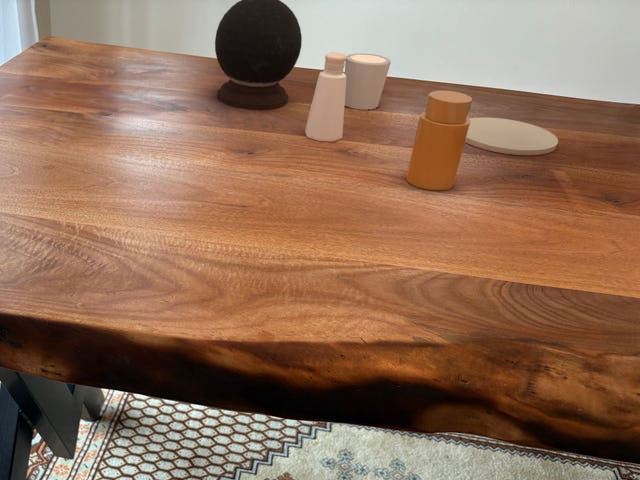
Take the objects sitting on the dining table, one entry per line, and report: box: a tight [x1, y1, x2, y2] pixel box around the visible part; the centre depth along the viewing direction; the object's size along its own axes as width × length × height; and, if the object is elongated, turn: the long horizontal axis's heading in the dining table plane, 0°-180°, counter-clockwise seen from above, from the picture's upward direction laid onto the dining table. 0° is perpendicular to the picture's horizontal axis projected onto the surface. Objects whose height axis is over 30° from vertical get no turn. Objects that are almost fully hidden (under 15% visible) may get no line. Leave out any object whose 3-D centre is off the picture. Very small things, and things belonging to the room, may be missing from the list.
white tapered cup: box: [344, 53, 392, 111], centre depth 120 cm, size 7×7×7 cm
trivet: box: [465, 117, 559, 156], centre depth 111 cm, size 14×14×1 cm
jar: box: [405, 90, 473, 191], centre depth 93 cm, size 6×6×10 cm
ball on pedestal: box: [214, 0, 303, 111], centre depth 118 cm, size 13×13×15 cm
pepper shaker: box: [304, 52, 347, 143], centre depth 106 cm, size 5×5×11 cm
